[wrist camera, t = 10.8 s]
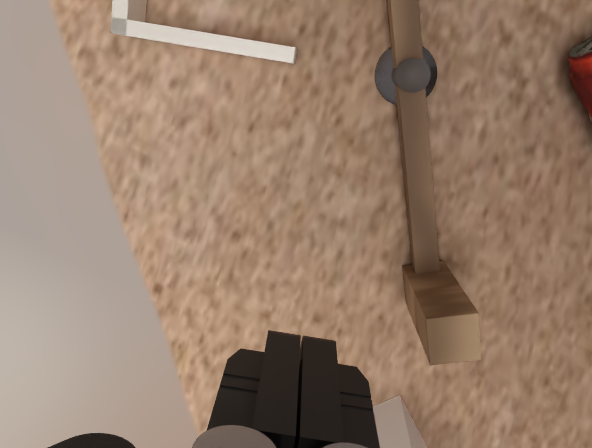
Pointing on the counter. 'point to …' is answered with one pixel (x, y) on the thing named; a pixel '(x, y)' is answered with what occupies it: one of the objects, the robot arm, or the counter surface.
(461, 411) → the counter surface
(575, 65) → the beverage can
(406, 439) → the milk
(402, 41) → the lever
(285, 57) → the three-sided white fence
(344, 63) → the counter surface
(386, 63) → the pivot base
